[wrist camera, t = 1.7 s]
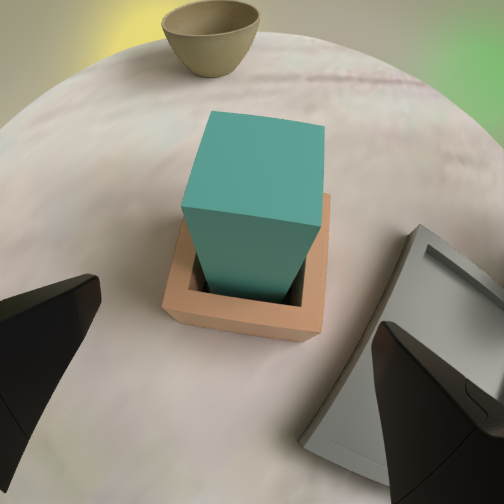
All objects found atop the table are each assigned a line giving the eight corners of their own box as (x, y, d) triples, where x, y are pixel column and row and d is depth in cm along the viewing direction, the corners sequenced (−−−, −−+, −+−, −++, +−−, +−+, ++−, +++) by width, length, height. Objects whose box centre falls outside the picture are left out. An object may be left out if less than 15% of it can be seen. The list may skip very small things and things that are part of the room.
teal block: (277, 309, 21) (321, 226, 10) (213, 299, 21) (180, 206, 10) (285, 250, 23) (324, 126, 11) (224, 241, 23) (211, 111, 11)
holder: (303, 342, 20) (321, 332, 16) (179, 322, 21) (161, 307, 16) (314, 229, 23) (330, 194, 19) (203, 213, 24) (195, 174, 19)
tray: (450, 504, 15) (463, 509, 13) (297, 441, 18) (303, 447, 16) (524, 323, 21) (538, 318, 19) (408, 234, 24) (420, 223, 22)
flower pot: (172, 51, 32) (164, 5, 26) (251, 43, 33) (252, -4, 27) (168, 97, 29) (157, 41, 22) (264, 87, 30) (269, 31, 23)
